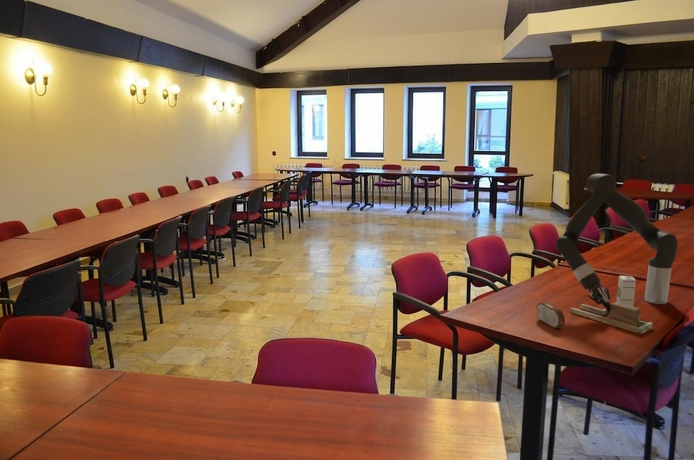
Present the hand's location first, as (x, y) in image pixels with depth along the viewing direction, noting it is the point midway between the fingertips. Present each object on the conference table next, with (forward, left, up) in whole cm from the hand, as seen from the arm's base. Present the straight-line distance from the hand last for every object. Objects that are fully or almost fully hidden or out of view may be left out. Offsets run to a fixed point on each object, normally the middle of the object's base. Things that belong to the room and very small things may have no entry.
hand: (611, 310), depth 222 cm
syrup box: (-20, -4, -4) cm, 21 cm away
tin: (+25, -13, -5) cm, 28 cm away
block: (0, +6, -4) cm, 7 cm away
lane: (-2, 0, -4) cm, 5 cm away
